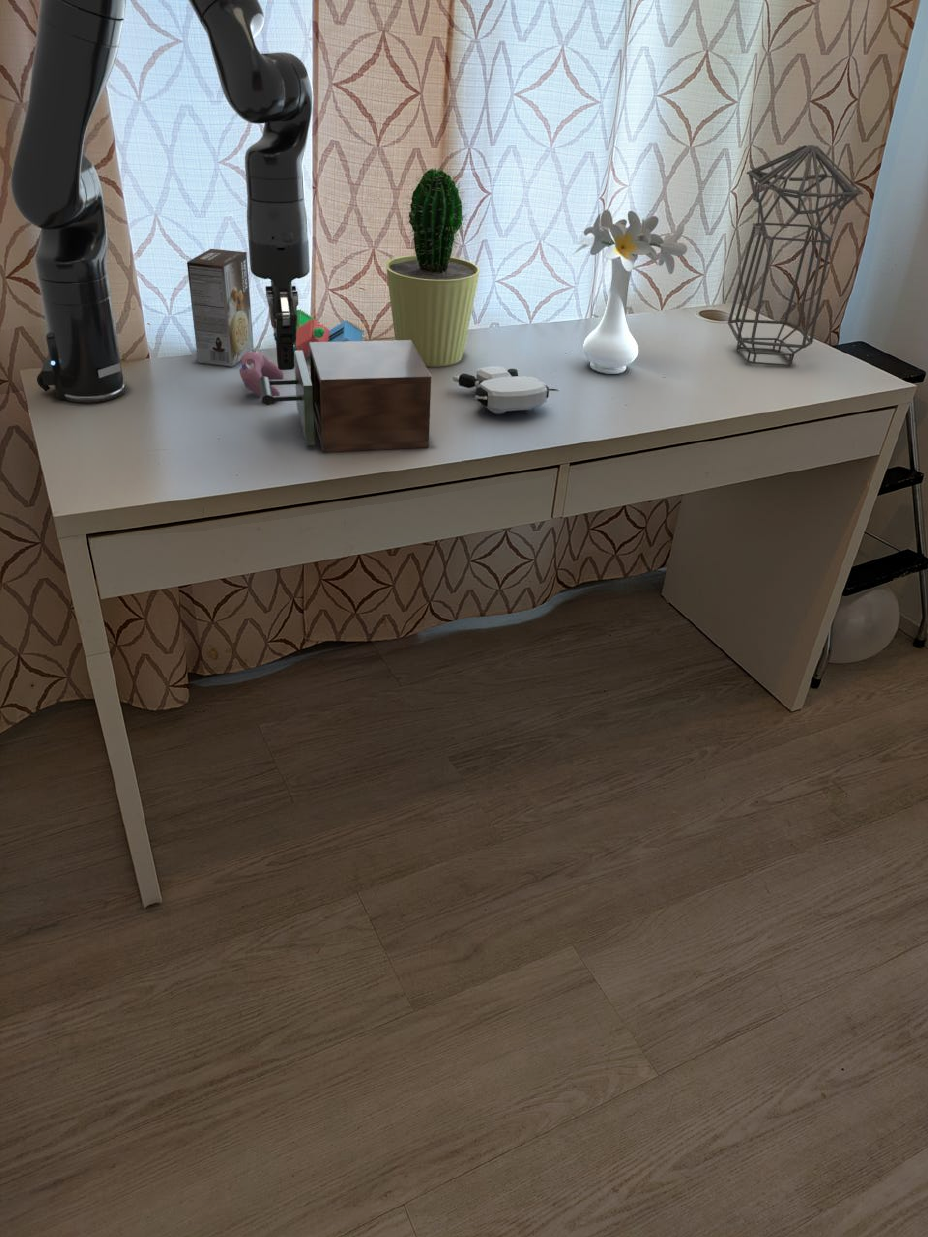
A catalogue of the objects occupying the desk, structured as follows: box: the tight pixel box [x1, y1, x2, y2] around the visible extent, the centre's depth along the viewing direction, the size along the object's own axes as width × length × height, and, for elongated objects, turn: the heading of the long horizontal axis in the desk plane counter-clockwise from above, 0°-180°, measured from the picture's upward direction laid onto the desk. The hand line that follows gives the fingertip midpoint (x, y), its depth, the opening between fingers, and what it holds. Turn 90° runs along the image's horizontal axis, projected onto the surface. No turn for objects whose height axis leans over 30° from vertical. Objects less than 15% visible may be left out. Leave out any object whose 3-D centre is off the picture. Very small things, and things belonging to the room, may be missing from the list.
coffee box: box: [186, 248, 255, 368], centre depth 156 cm, size 9×6×16 cm
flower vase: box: [572, 209, 688, 375], centre depth 160 cm, size 13×18×25 cm
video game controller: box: [239, 349, 285, 403], centre depth 148 cm, size 10×5×7 cm, turn 5°
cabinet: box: [309, 339, 432, 453], centre depth 137 cm, size 15×15×10 cm
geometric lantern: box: [727, 144, 864, 367], centre depth 165 cm, size 16×16×35 cm
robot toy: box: [452, 365, 560, 415], centre depth 150 cm, size 12×4×15 cm
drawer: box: [259, 350, 321, 446], centre depth 136 cm, size 19×14×8 cm
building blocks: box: [293, 309, 365, 358], centre depth 163 cm, size 8×8×12 cm
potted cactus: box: [384, 165, 481, 368], centre depth 158 cm, size 15×15×30 cm
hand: (286, 367), depth 132 cm, fingers closed
